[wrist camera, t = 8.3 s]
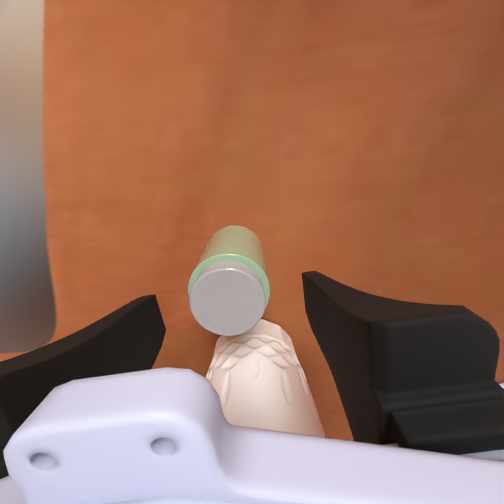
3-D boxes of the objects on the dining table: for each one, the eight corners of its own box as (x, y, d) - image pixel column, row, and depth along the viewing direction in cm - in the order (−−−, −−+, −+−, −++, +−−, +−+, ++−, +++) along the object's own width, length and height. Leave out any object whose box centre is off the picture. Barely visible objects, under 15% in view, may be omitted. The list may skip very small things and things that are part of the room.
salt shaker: (266, 274, 20) (277, 335, 13) (213, 282, 20) (193, 347, 13) (258, 220, 18) (265, 255, 11) (201, 229, 18) (172, 269, 11)
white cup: (262, 400, 24) (271, 557, 14) (190, 359, 22) (146, 505, 13) (319, 343, 22) (374, 480, 12) (244, 293, 20) (242, 406, 11)
